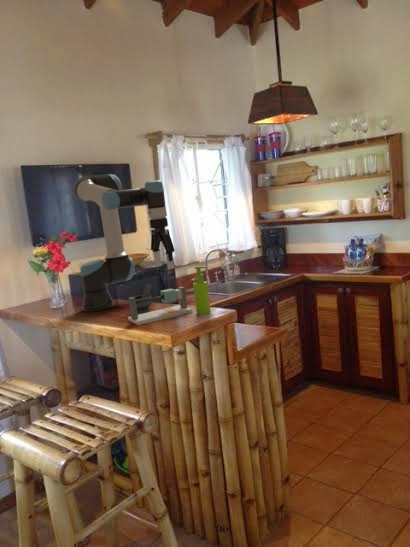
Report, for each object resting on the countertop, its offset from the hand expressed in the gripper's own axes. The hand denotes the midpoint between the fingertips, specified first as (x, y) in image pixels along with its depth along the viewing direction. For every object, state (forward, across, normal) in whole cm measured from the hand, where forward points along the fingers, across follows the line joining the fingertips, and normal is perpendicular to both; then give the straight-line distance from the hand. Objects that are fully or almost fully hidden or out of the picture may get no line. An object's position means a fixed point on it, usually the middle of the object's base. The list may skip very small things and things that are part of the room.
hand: (164, 267), depth 215 cm
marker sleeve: (+15, 0, 0) cm, 15 cm away
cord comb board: (+20, 0, -5) cm, 21 cm away
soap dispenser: (+21, +12, +10) cm, 26 cm away
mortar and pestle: (+21, -16, -6) cm, 27 cm away
